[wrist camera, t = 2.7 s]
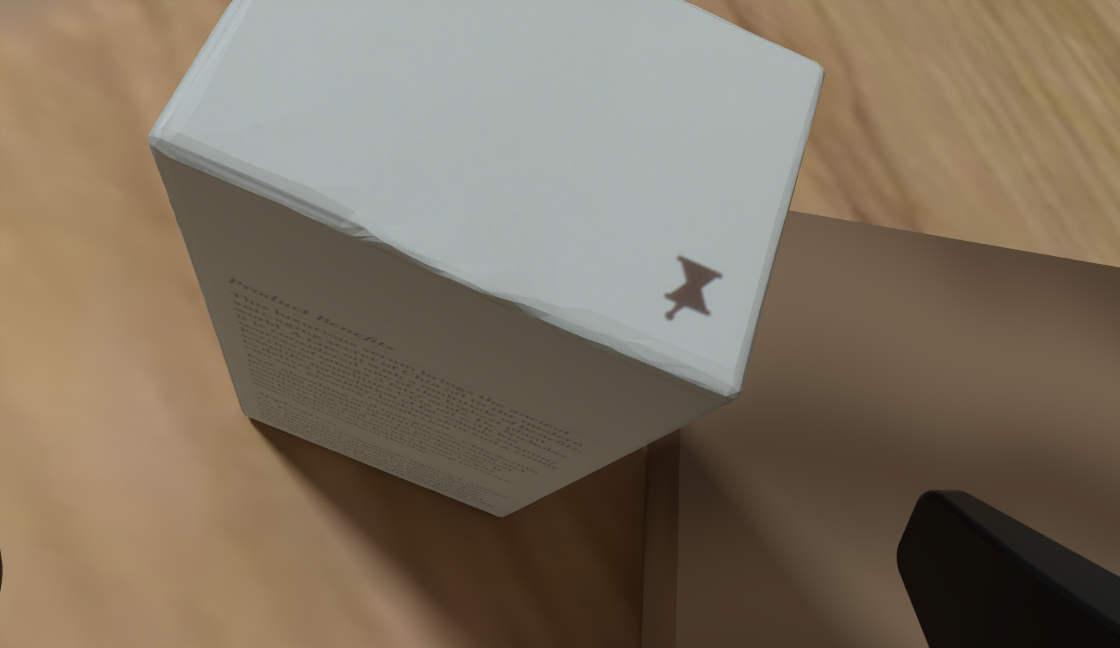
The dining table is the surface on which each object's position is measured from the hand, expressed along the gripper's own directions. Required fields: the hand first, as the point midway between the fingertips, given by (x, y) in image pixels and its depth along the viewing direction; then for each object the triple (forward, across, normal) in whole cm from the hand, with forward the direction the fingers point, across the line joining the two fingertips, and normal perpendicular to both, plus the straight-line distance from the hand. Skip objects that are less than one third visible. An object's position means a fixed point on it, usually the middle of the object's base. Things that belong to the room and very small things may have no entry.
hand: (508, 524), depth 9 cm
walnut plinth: (+8, -12, +7) cm, 16 cm away
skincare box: (+11, 0, +5) cm, 12 cm away
